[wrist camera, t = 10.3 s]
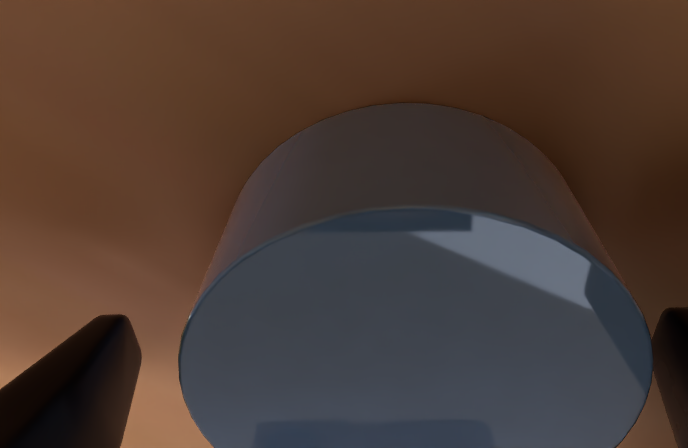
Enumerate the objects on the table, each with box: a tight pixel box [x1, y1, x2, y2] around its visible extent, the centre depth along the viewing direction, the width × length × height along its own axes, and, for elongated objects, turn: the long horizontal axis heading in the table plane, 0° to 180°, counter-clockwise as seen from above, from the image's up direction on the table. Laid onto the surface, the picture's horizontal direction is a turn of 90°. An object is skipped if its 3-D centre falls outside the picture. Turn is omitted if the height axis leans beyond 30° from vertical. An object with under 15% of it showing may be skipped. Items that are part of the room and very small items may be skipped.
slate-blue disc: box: [178, 103, 653, 448], centre depth 9 cm, size 6×6×3 cm
